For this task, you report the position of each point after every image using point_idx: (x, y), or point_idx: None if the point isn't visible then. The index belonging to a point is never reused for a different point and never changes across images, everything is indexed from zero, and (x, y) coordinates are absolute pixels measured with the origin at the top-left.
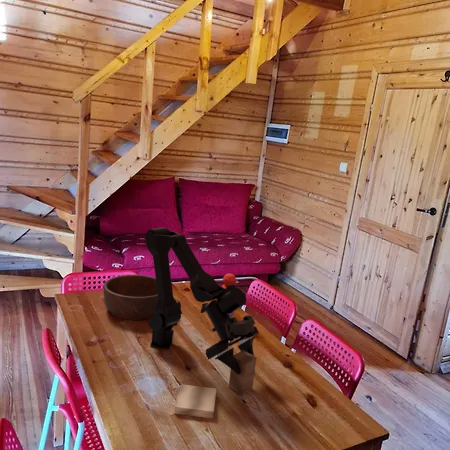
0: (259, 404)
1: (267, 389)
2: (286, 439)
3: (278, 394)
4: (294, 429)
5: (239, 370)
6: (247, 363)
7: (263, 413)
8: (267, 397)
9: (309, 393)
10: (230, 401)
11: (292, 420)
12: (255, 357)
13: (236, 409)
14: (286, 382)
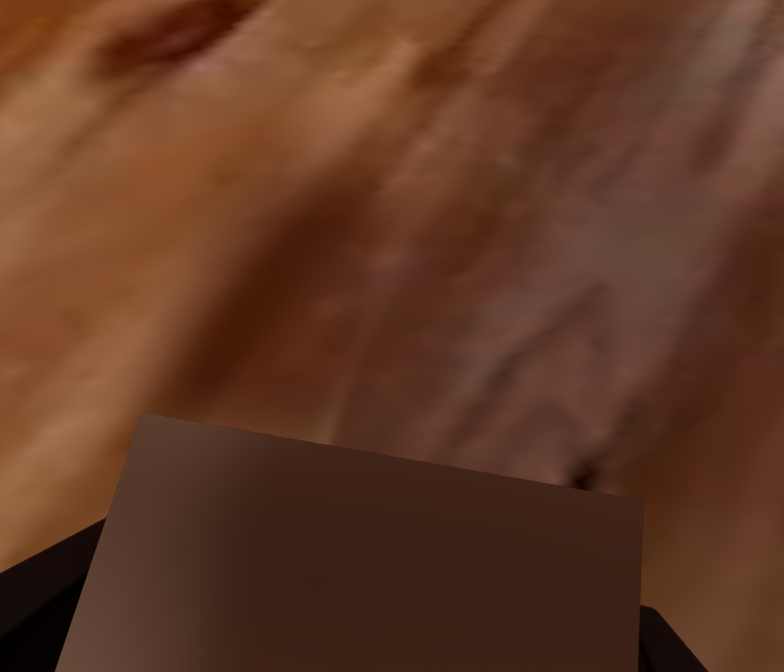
0: (517, 334)
1: (229, 370)
2: (746, 26)
3: (250, 255)
4: (604, 21)
5: (671, 643)
6: (573, 494)
7: (610, 254)
8: (361, 317)
9: (86, 69)
10: (701, 613)
11: (519, 59)
12: (185, 427)
13: (763, 485)
14: (4, 268)
